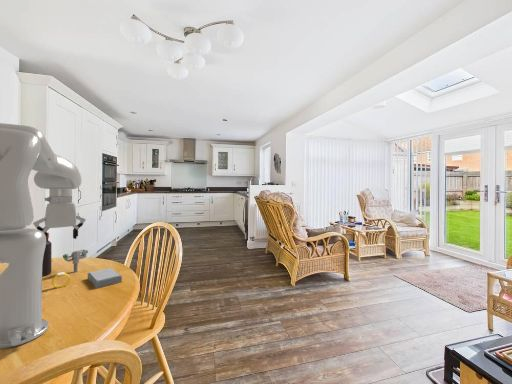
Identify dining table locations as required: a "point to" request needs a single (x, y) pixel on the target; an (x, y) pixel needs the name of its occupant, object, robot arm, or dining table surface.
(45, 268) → the bottle
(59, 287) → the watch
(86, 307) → the dining table surface
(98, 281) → the stand
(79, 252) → the mechanical component
